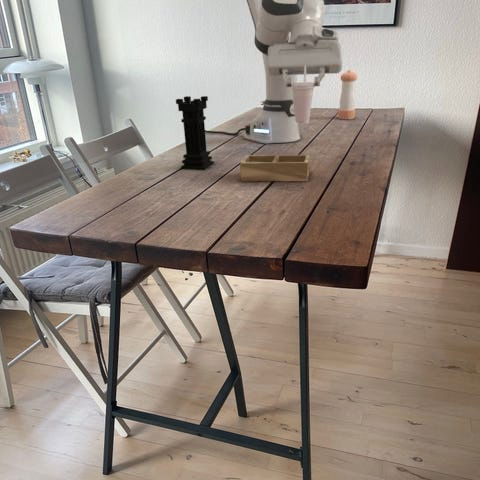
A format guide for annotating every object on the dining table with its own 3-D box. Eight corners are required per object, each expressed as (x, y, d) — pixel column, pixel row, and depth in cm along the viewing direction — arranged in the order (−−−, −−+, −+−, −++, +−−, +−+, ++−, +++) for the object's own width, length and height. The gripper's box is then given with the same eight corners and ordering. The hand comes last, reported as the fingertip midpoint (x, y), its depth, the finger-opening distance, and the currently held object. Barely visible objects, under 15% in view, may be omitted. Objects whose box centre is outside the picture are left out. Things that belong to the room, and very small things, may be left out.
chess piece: (214, 163, 160) (209, 96, 150) (204, 169, 154) (198, 99, 144) (191, 162, 163) (185, 96, 152) (181, 168, 156) (173, 99, 146)
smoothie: (312, 123, 136) (314, 66, 129) (289, 124, 137) (289, 67, 130) (314, 119, 141) (316, 64, 134) (292, 120, 142) (292, 65, 135)
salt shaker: (342, 116, 228) (345, 69, 218) (357, 117, 224) (360, 69, 215) (335, 118, 223) (337, 71, 213) (350, 119, 219) (353, 71, 210)
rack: (246, 172, 149) (246, 155, 146) (309, 172, 146) (309, 154, 143) (241, 181, 141) (240, 163, 138) (307, 181, 137) (307, 162, 135)
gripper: (267, 34, 136) (263, 78, 133) (343, 31, 132) (341, 75, 129) (269, 52, 142) (265, 94, 139) (342, 49, 138) (340, 92, 135)
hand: (302, 85), depth 134 cm, fingers closed on smoothie, 6 cm apart
